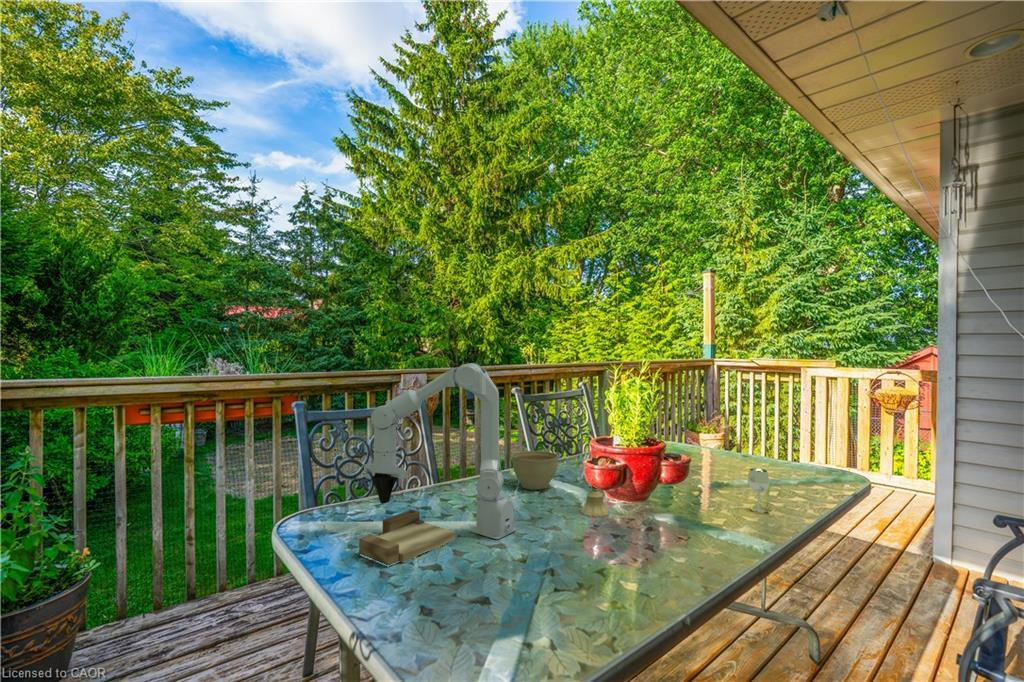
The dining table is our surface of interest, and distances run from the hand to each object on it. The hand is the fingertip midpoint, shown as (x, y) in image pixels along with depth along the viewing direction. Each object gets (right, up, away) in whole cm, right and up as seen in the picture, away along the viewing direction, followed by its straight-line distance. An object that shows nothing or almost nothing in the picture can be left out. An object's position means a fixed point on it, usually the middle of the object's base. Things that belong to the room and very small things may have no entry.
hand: (384, 502), depth 131 cm
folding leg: (+5, -6, -3) cm, 9 cm away
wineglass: (+107, -8, +16) cm, 108 cm away
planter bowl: (+42, -8, +40) cm, 58 cm away
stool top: (+9, -6, -13) cm, 17 cm away
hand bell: (+58, -8, +13) cm, 60 cm away
